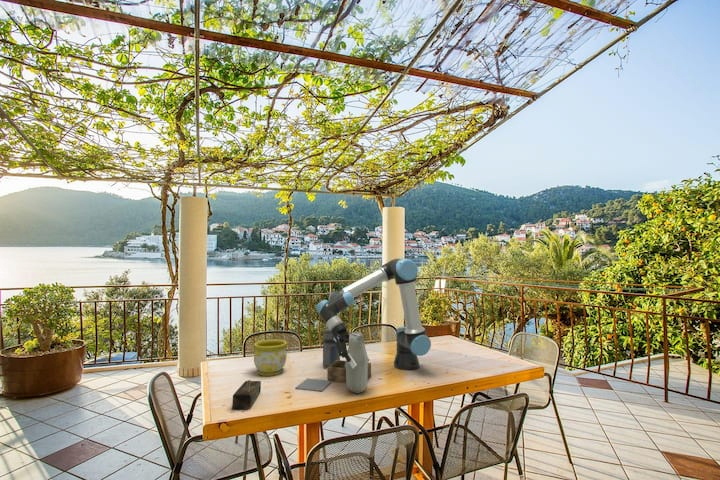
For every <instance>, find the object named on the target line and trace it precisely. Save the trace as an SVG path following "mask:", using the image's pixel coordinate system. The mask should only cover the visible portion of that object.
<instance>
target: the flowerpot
mask: <svg viewBox="0 0 720 480" xmlns="http://www.w3.org/2000/svg"><path fill="white" fill-rule="evenodd" d="M287 344H288V343H287V341H286V340H284V339H275V338H274V339H264V340H258V341H256V342H254V343H253V347H254V353H253V354H254V355H253V363H254V366H255V368H256V372H257V373H258V374H259V375H260V376H264V377H273V376H277V375H280V374H281V373H282V372H283V370H284V366H285V364H286V363H287V362H286V361H287Z"/></svg>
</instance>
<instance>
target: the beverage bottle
mask: <svg viewBox="0 0 720 480" xmlns="http://www.w3.org/2000/svg"><path fill="white" fill-rule="evenodd" d="M322 338H323V342H322V366H323V368H325V369H327V367H328V366H330V365H331V364H332V363H333V362H335V361H336V360H341V356H340V355H339V353H338V350H337V347H336V345H335V343H334V341H333V339H334V336H333V334H332V333H331V331H330V330H329V328H328V327H327V328H323V331H322Z"/></svg>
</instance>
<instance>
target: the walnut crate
mask: <svg viewBox="0 0 720 480" xmlns="http://www.w3.org/2000/svg"><path fill="white" fill-rule="evenodd" d="M345 363H346V360H341V359H340V360H336V361H335V362H333V363H332V364H331V365H330V366H328V367H327V368H326V370H327V379H326V380H328V381H332V383H335V382H336V383H345V384H347V383H346V368H344V364H345ZM371 376H372V362H368V380H369V379H370V378H371ZM368 380H367V382H368Z"/></svg>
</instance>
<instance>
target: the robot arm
mask: <svg viewBox="0 0 720 480" xmlns="http://www.w3.org/2000/svg"><path fill="white" fill-rule="evenodd" d="M418 273H419V272H418V266H417V264H416V262H414V261H413V260H412V259H410V258H406V257H405V258H394V259H391V260H390V261H387V262H386V263H384V264H382V265H381V266H379V267H378V269H377V270H375V271H373V272H371V273H370V274H368V275H365V276H363V277H362V278H360V279H358V280H356V281H355V282H353V283H350V284H348V285H347V286H344V287H343V288H341V289H339V290H337V291H334V292H331V293H329V296H328V300H327V299H323V300H320V302H318V303H317V305H316V306H315V309H316V311H317V314H318V315H319V316H320V318H321V319H322V320H323V322H324V323H325V325H326V326H327V328H329V330H330V331H331V333H332V334H333V336H334V339H333V341H334V343H335V345H336V347H337V350H338V353H339V355H340V358H343V359H344V358H345V361H346V360H347V361H348V362H349V364H350V365H351V367H352V368H355V366H356V365H357V364H356V363H355V361H354V360H353V358H352V357H351V355H350V354H348V352H347V351H348V347H347V344H348V345H349V336H350V335H351V333H353V331H351V332H350V333H349V332H347V330H348V329H347V327H346V325H345V323H344V322H343V321H342V319H341V318H340V317H339V315H338V314H339V313H341V312H342V311H344V310H346V309H348V308H349V307H350V306H352V305H354V303H355V297H358V296H360V295H362V294H363V293H365V292H367V291H368V290H371V289H373V288H374V287H376V286H378V285H380V284H382V283H384V282H389V281H392V280H394V281H395V285H396V286H398V288H399V293H400V300H401V305H402V310H403V316H404V320H405V326H400V327H397V328H396V353H395V357H394V360H393V367H394V368H395V369H399V370H403V371H404V370H406V371H407V370H408V371H409V370H410V371H411V370H412V371H414V370H417V369H419V368H420V361H419V358H418V357H420V356H425V355H426V354H428V352H429V351H430V350H431V347H432V341H431V339H430V338H429V337H428V335H427V333H426V328H425V327H424V326H422V321H421V320H422V319H421V315H420V309H419V304H418V297H417V294H416V286H415V283H416V282H417V278H416V277H417V275H418ZM367 357H368V362H369V361H371V358H370V357H369V356H368V354H367Z"/></svg>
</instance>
